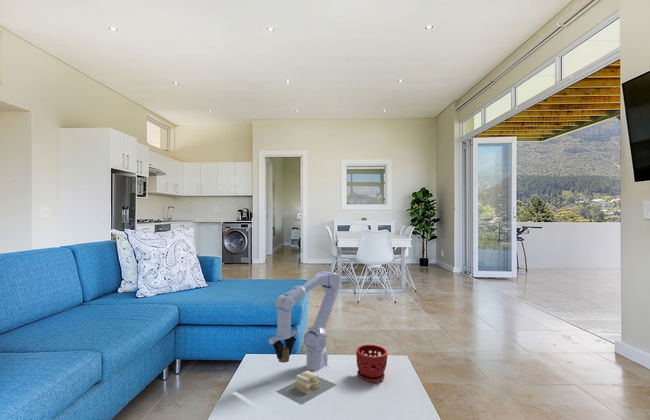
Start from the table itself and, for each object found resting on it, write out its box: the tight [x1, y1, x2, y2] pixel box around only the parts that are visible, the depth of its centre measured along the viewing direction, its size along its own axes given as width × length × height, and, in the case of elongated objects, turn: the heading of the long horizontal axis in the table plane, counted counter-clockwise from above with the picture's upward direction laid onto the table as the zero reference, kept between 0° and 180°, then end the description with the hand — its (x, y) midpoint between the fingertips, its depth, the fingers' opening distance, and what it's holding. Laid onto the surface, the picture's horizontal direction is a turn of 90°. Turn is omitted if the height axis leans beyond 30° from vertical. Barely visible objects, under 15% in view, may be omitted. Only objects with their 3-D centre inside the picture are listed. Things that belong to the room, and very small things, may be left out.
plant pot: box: [355, 344, 388, 384], centre depth 144 cm, size 13×13×12 cm
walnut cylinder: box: [278, 345, 290, 364], centre depth 143 cm, size 4×4×5 cm
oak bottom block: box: [294, 381, 320, 394], centre depth 133 cm, size 7×7×2 cm
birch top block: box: [296, 370, 319, 387], centre depth 133 cm, size 6×6×2 cm
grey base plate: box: [275, 376, 337, 405], centre depth 133 cm, size 20×14×1 cm
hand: (283, 356), depth 143 cm, fingers closed on walnut cylinder, 4 cm apart
